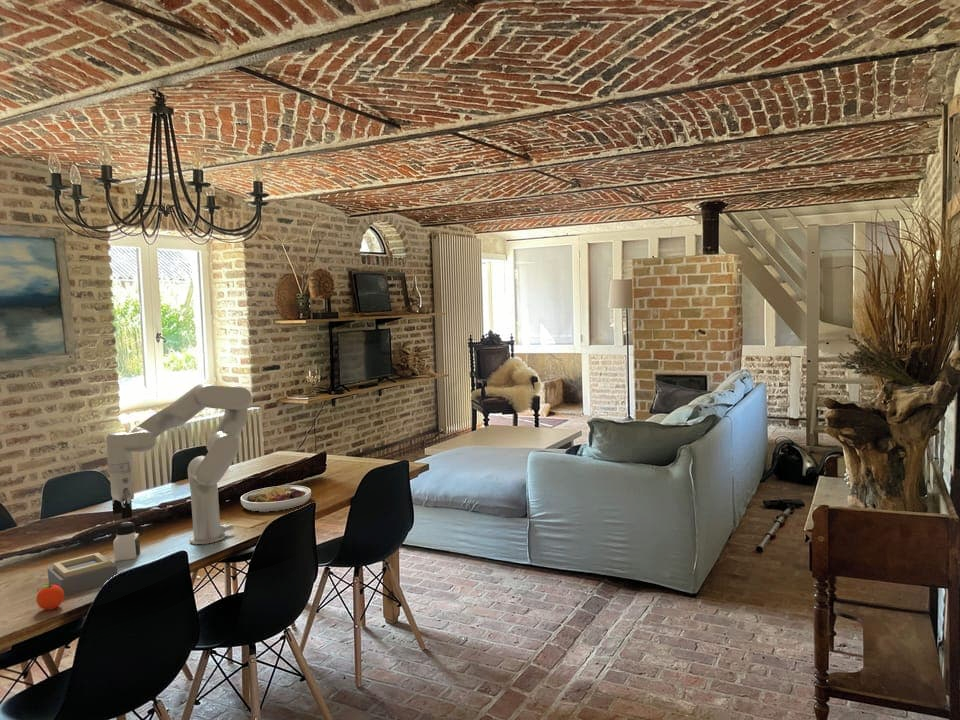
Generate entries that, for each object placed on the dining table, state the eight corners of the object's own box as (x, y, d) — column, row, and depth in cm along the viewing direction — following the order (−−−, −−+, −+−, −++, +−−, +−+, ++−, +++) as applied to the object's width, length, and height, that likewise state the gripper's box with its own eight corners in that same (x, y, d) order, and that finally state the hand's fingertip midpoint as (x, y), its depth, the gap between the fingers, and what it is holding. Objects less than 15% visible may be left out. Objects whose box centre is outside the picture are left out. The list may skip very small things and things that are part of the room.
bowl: (226, 510, 306) (224, 493, 305) (275, 493, 332) (274, 477, 332) (278, 517, 292) (277, 498, 292) (325, 498, 319) (324, 481, 318)
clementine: (28, 613, 202) (26, 589, 202) (46, 603, 209) (44, 580, 209) (53, 614, 201) (50, 589, 200) (70, 604, 208) (68, 580, 207)
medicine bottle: (136, 558, 246) (134, 525, 246) (114, 561, 244) (111, 527, 244) (140, 552, 253) (138, 519, 252) (118, 555, 251) (116, 522, 250)
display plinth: (103, 569, 237) (101, 550, 236) (118, 580, 225) (116, 560, 225) (48, 583, 226) (47, 563, 225) (61, 596, 214) (60, 575, 214)
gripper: (139, 469, 243) (142, 518, 244) (123, 462, 255) (125, 509, 256) (116, 472, 238) (118, 522, 239) (100, 466, 250) (103, 513, 251)
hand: (122, 515), depth 247 cm, fingers open, 9 cm apart
